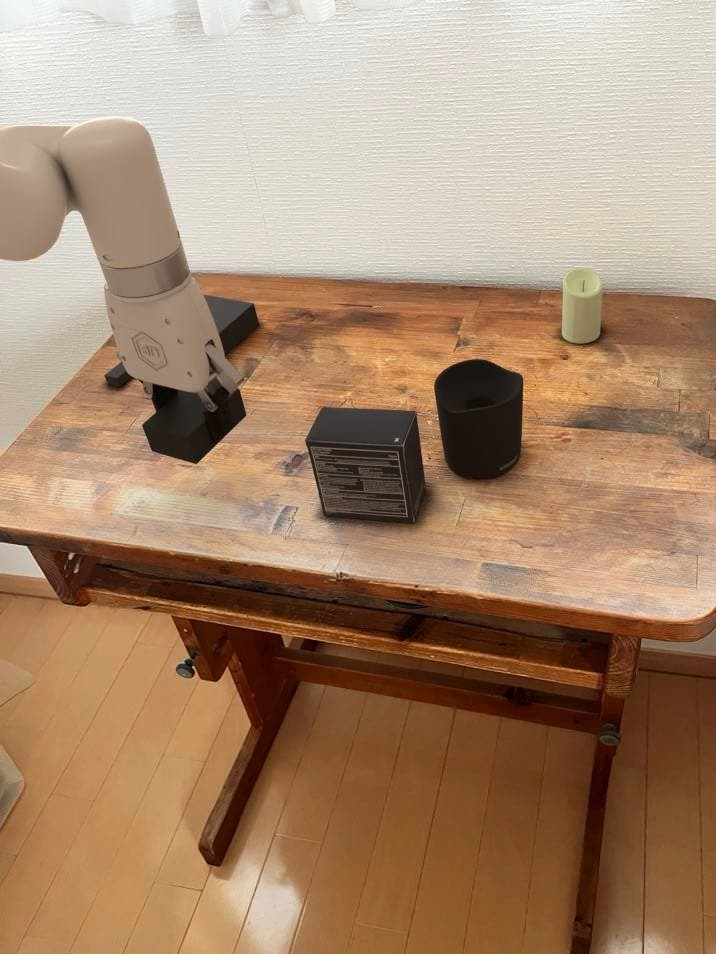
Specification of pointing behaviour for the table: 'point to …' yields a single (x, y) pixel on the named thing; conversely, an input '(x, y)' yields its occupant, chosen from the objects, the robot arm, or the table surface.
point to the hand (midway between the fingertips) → (197, 426)
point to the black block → (187, 426)
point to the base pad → (230, 323)
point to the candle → (581, 305)
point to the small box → (367, 463)
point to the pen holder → (480, 418)
